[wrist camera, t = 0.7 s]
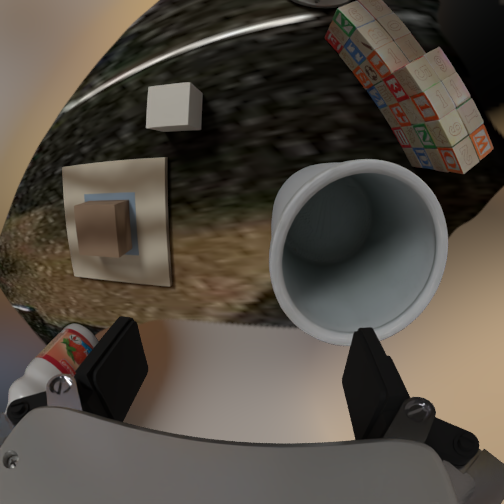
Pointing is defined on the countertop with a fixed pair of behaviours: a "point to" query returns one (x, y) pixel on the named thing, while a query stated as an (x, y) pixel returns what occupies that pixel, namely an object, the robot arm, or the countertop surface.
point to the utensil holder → (356, 248)
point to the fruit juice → (54, 361)
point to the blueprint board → (141, 218)
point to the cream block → (174, 107)
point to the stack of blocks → (411, 88)
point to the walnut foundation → (103, 228)
